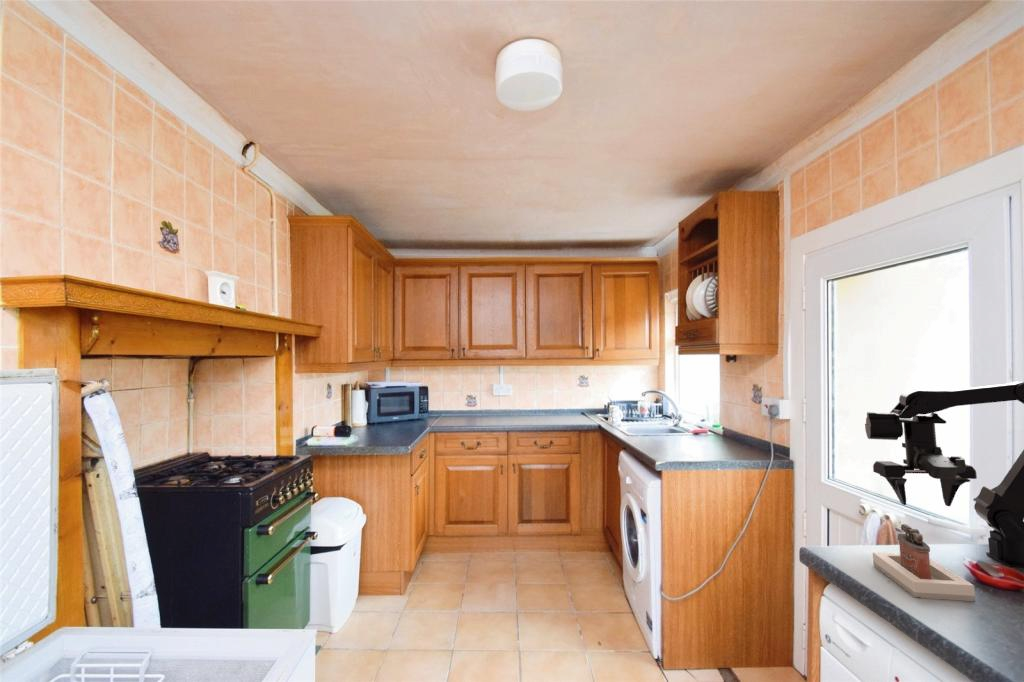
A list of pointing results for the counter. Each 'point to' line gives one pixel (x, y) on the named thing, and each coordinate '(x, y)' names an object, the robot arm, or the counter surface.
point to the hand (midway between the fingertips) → (925, 505)
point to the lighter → (914, 552)
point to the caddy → (937, 588)
